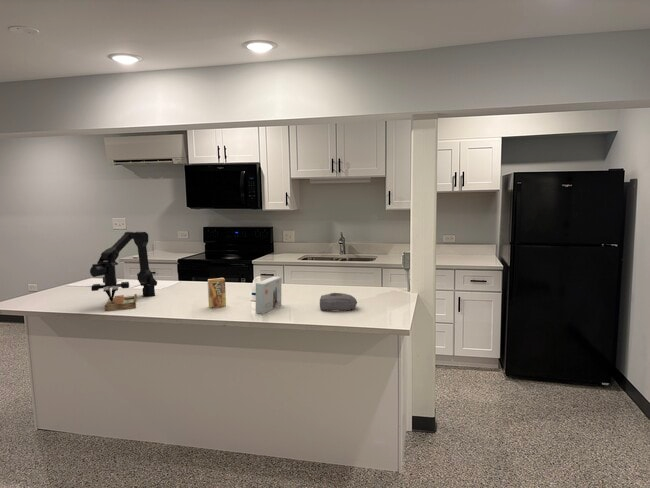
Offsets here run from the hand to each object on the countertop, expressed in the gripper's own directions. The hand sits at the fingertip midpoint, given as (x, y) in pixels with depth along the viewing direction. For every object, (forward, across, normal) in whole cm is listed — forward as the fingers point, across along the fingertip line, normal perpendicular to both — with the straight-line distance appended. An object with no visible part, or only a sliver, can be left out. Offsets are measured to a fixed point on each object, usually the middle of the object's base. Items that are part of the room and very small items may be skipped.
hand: (111, 301), depth 252 cm
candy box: (+3, -55, +25) cm, 60 cm away
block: (+1, -4, 0) cm, 4 cm away
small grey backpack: (+3, -114, +56) cm, 127 cm away
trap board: (+3, -5, -1) cm, 6 cm away
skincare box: (+3, -80, +42) cm, 90 cm away
